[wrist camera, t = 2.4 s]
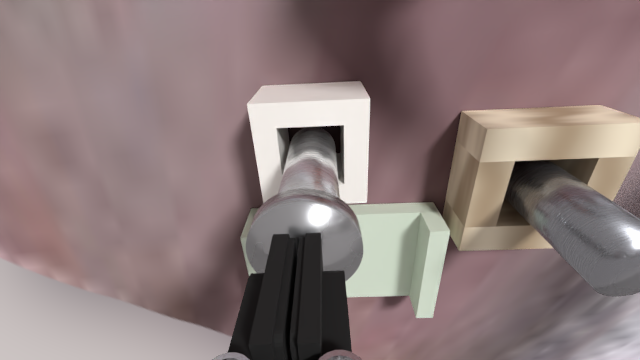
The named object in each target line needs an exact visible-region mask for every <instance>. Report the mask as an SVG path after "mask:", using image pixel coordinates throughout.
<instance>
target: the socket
mask: <svg viewBox="0 0 640 360" xmlns="http://www.w3.org/2000/svg"><path fill="white" fill-rule="evenodd" d="M639 149H640V118H638V117H635V116H632V115H629V114H626V113H623V112H620V111H617V110H614V109H611V108H608V107H605V106H602V105H589V106H566V107H544V108H521V109H498V110H475V111H461V117H460V122H459V128H458V133H457V139H456V144H455V149H454V155H453V160H452V166H451V171H450V177H449V182H448V188H447V193H446V199H445V204H444V210H443V215H442V218H443V219H444V221H445V223H446V225H447V226H448V228H449V230H450V236H451V238H452V239H453V241H454V243H455V245H456V246H457V248H458V250H459V251H474V250H508V249H542V248H553V247H552V246H551V245H550V244H549V243H548V242H547V241H546V240H545V239H544V238H543V237H542V236H541V235H540V234H539V233H538V232H537V231H536V230H535V229H534V228H533V227H532V226H531V225H530V224H529V223H528V222H527V221H526V219H525V218H524V217H523V216H522V215H521V214H520V213H519V212H518V211H517V210H516V209H515V208H514V207H513V206H512V205H511V204H510V203H509V202H508V201H507V200H506V199H505V198H504V197H505V194H506V190H507V187H508V183H509V180H510V177H511V173H512V170H513V166H514V163H515V161H531V160H550V161H551V162H553V163H554V164H556V165H557V166H559V167H560V168H562V169H563V170H565V171H567V172H568V173H570V174H571V175H573V176H574V177H576V178H577V179H579V180H580V181H582V182H584V183H585V184H587V185H588V186H590V187H591V188H593V189H594V190H596V191H597V192H599V193H600V194H602V195H604V196H605V197H607V198H608V199H610V200H611V201H613V200H614V198H615V196H616V194H617V192H618V190H619V188H620V186H621V184H622V182H623V180H624V178H625V176H626V175H627V173H628V171H629V169H630V167H631V165H632V163H633V161H634V159H635V157H636V155H637V153H638V151H639Z"/></svg>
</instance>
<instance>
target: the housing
mask: <svg viewBox="0 0 640 360" xmlns="http://www.w3.org/2000/svg"><path fill="white" fill-rule="evenodd" d="M247 107H248V113H249V119H250V125H251V131H252V137H253V143H254V149H255V155H256V161H257V167H258V173H259V179H260V185H261V191H262V197H263V203H265V202H266V201H267V200H268V199H270V198H271V197H273V196H275V195H277V194H278V191H279V187H280V183H281V179H282V175H283V172H284V168H285V164H286V160H287V156H288V152H289V148H290V144H289V134H288V128H292V127H315V126H338V125H340V150H341V153H336V161H337V172H338V183H339V194H340V199H341V200H343V201H344V202H345V203H367V183H368V152H369V122H370V97H369V95H368V93H367V92H366V90H365V88H364V86H363V84H362V83H361V81H351V82H330V83H309V84H288V85H267V86H262V87H261V88H260V89H259V90H258V92H257V93H256V94H255V95H254V96H253V98H252V99H251V100H250V101H249V102H248V104H247Z"/></svg>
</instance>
